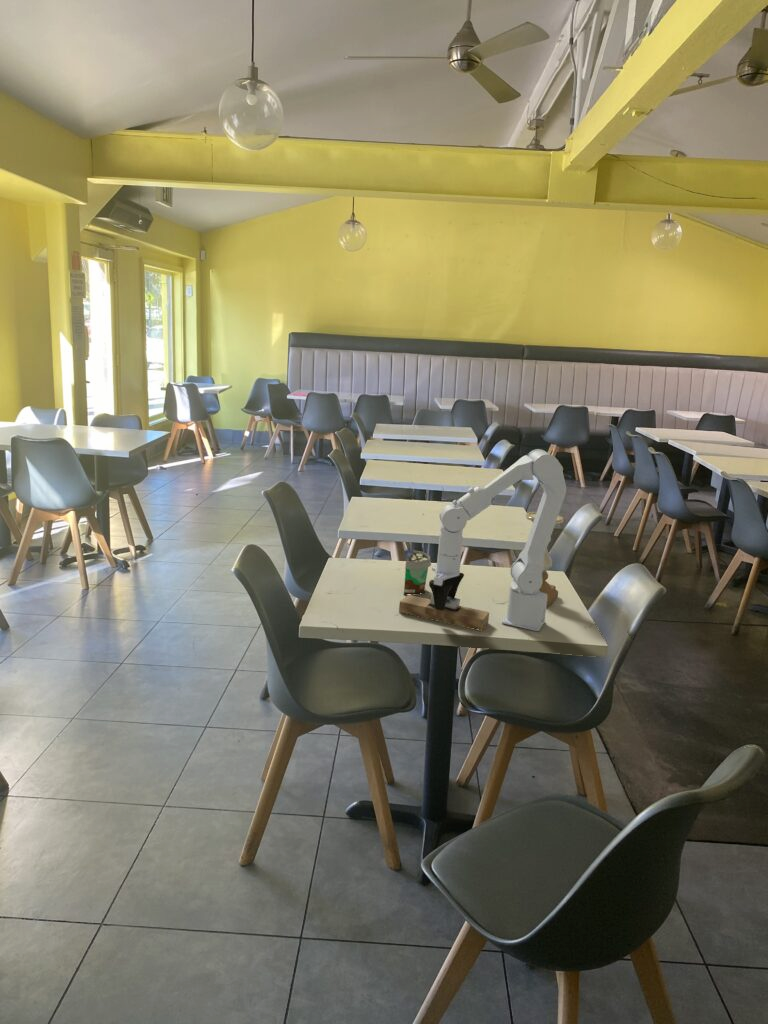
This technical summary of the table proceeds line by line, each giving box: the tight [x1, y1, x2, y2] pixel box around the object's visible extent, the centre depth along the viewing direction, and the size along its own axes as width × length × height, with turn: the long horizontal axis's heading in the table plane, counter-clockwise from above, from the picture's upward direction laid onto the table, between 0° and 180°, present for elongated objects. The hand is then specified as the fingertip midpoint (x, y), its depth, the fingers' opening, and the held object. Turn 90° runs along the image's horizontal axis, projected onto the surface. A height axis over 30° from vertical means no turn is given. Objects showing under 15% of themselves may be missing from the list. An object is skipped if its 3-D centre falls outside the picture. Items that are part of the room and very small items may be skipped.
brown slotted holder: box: [398, 595, 490, 631], centre depth 184 cm, size 22×6×3 cm, turn 66°
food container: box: [403, 549, 432, 595], centre depth 202 cm, size 12×6×10 cm, turn 168°
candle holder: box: [525, 511, 564, 608], centre depth 202 cm, size 11×11×24 cm
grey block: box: [429, 594, 461, 612], centre depth 184 cm, size 7×2×6 cm, turn 66°
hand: (444, 604), depth 184 cm, fingers open, 7 cm apart
